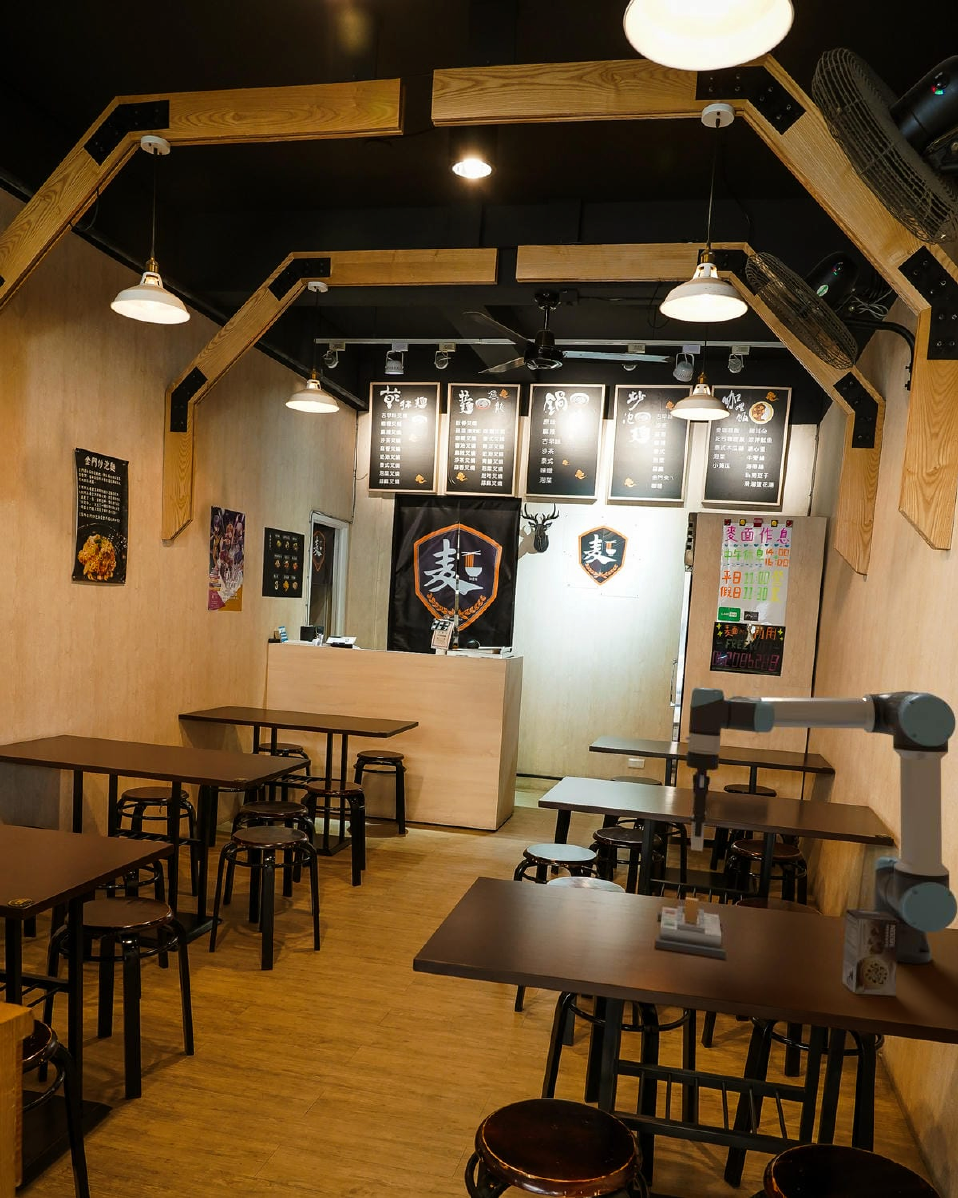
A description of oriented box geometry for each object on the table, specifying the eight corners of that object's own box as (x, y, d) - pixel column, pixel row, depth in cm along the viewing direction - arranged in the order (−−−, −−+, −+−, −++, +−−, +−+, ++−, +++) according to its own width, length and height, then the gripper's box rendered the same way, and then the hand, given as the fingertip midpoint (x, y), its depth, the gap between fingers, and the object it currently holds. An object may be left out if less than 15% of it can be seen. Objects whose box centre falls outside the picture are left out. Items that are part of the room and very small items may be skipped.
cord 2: (724, 956, 207) (725, 949, 207) (725, 959, 206) (725, 952, 206) (654, 945, 211) (655, 939, 211) (654, 948, 209) (655, 941, 209)
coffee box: (881, 985, 197) (885, 911, 198) (896, 997, 191) (900, 920, 191) (840, 982, 197) (845, 908, 197) (854, 994, 190) (859, 917, 191)
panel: (717, 931, 226) (718, 911, 227) (720, 953, 209) (721, 932, 209) (661, 922, 230) (662, 903, 230) (659, 944, 212) (660, 923, 212)
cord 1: (721, 928, 229) (721, 922, 229) (721, 930, 227) (721, 923, 227) (657, 919, 233) (658, 912, 233) (657, 920, 231) (657, 914, 231)
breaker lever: (696, 919, 220) (698, 899, 220) (696, 921, 218) (698, 901, 218) (684, 917, 221) (685, 897, 221) (684, 920, 219) (685, 899, 219)
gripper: (687, 746, 227) (680, 835, 226) (687, 754, 206) (680, 853, 205) (717, 749, 225) (711, 839, 224) (720, 758, 205) (713, 858, 203)
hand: (696, 846), depth 215 cm, fingers open, 9 cm apart
